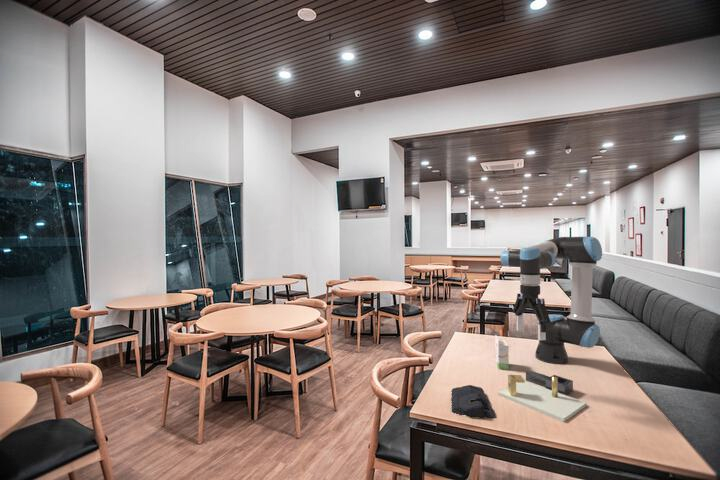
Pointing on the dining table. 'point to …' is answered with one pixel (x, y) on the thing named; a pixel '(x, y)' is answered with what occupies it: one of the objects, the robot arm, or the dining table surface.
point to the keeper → (514, 383)
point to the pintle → (554, 386)
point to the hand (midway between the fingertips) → (530, 335)
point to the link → (550, 382)
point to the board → (544, 401)
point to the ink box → (501, 354)
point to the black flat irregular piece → (471, 402)
